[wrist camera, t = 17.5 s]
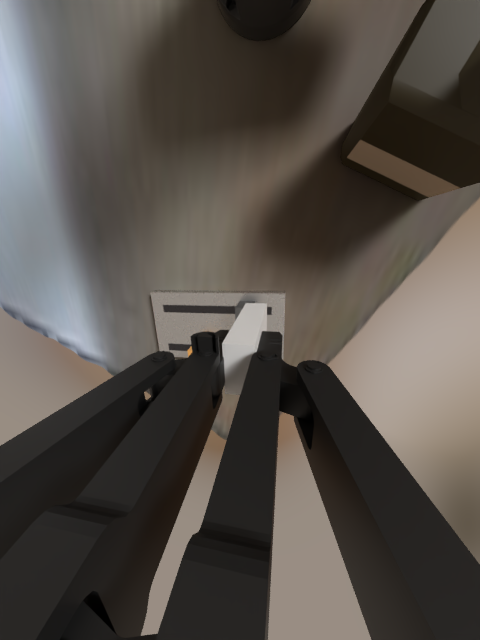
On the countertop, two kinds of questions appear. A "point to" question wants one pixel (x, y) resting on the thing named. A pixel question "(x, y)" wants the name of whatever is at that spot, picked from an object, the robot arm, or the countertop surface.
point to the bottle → (425, 107)
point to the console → (207, 314)
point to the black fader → (240, 307)
